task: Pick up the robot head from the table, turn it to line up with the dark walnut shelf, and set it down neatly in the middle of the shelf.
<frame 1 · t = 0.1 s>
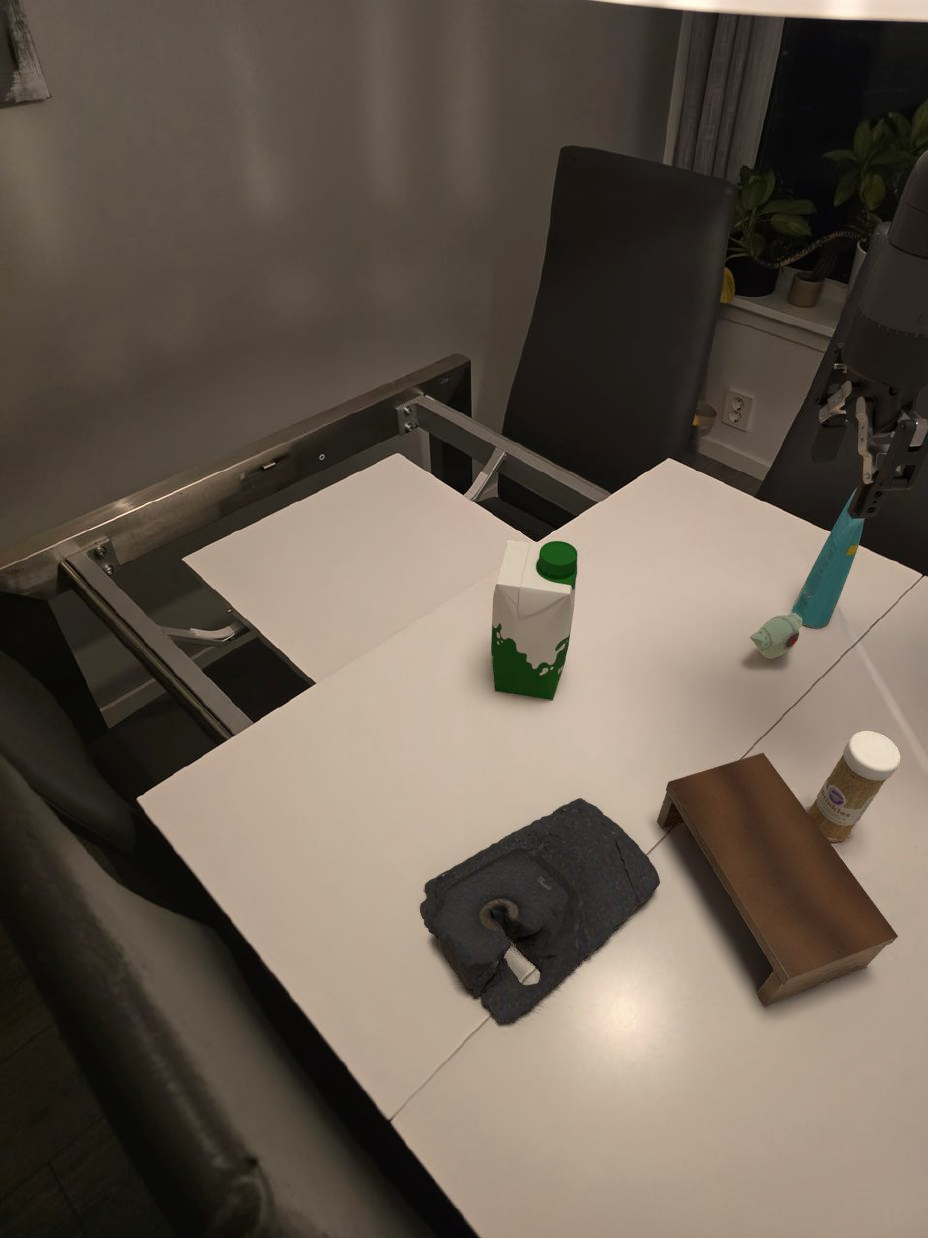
hand: (839, 486, 70), 32 cm above the table, tool pointing down, fingers open, 8 cm apart
milk carton: (527, 675, 97), on the table
tube: (810, 616, 104), on the table
dark slate chunk: (542, 902, 76), on the table
sprinkles bottle: (827, 825, 82), on the table
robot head: (769, 658, 99), on the table
shelf: (754, 888, 77), on the table
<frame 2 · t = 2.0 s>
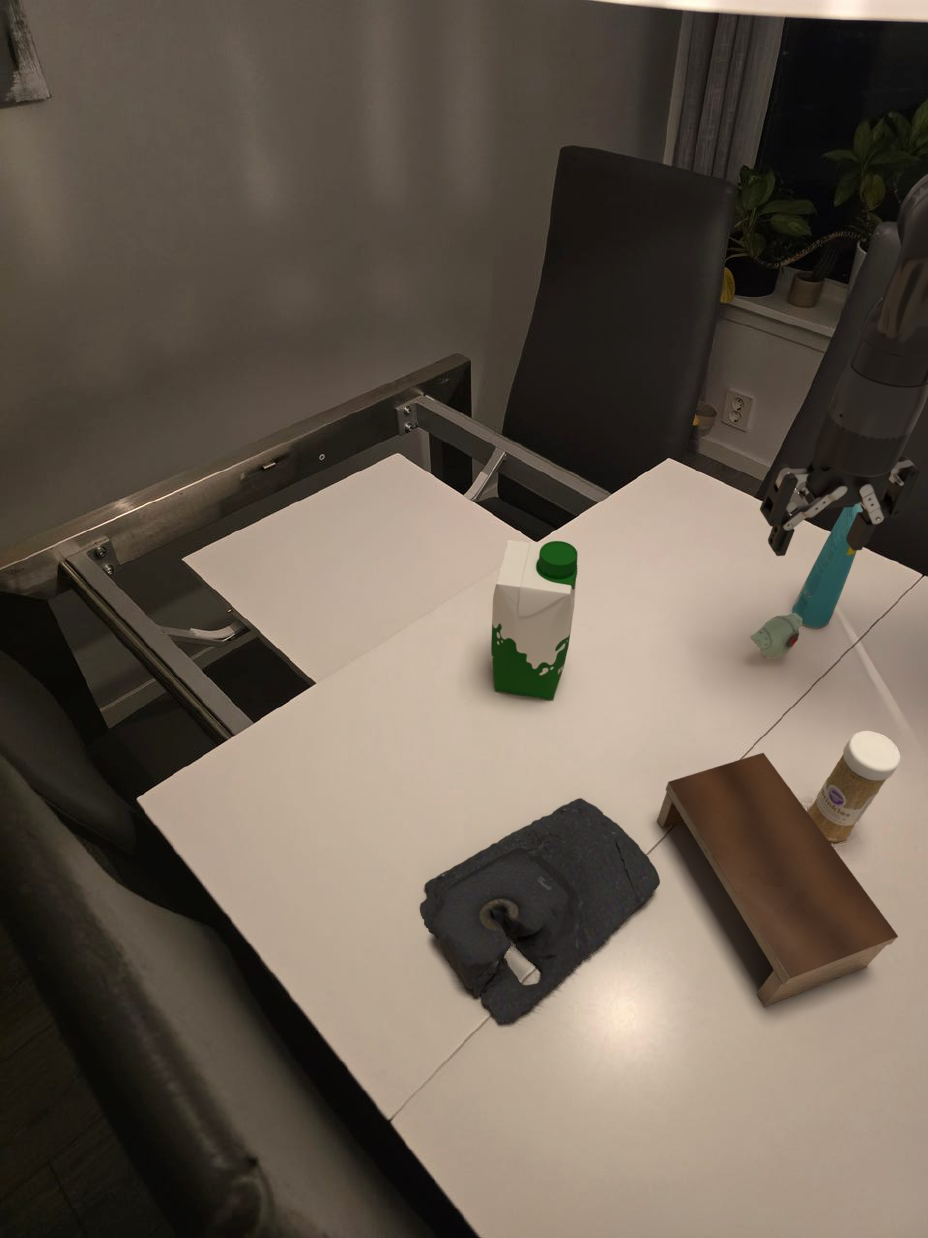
hand: (815, 548, 84), 19 cm above the table, tool pointing down, fingers open, 8 cm apart
nothing on the table moved.
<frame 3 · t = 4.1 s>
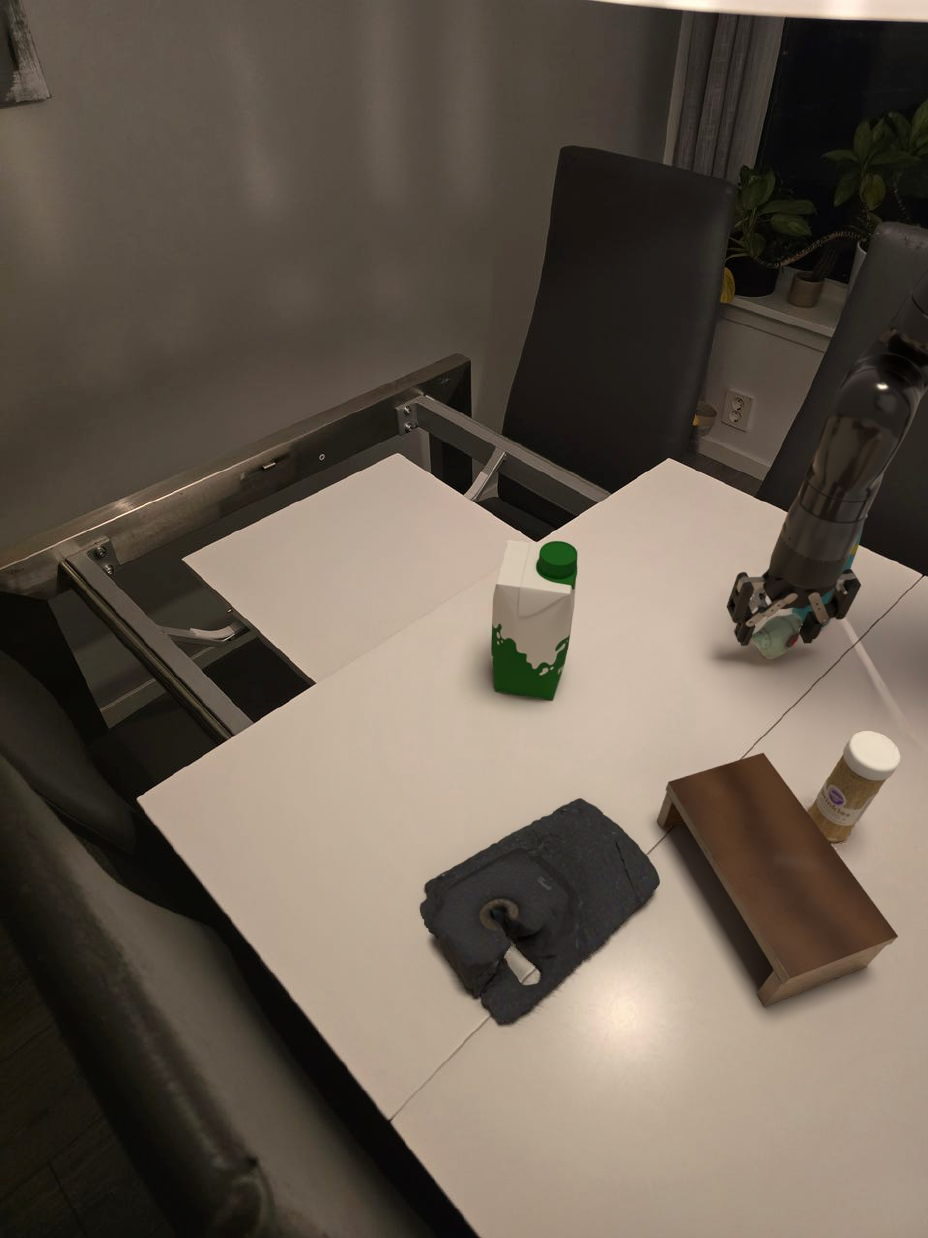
hand: (773, 639, 96), 3 cm above the table, tool pointing down, fingers closed on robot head, 7 cm apart
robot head: (769, 658, 99), on the table, touching gripper
everything else where it was.
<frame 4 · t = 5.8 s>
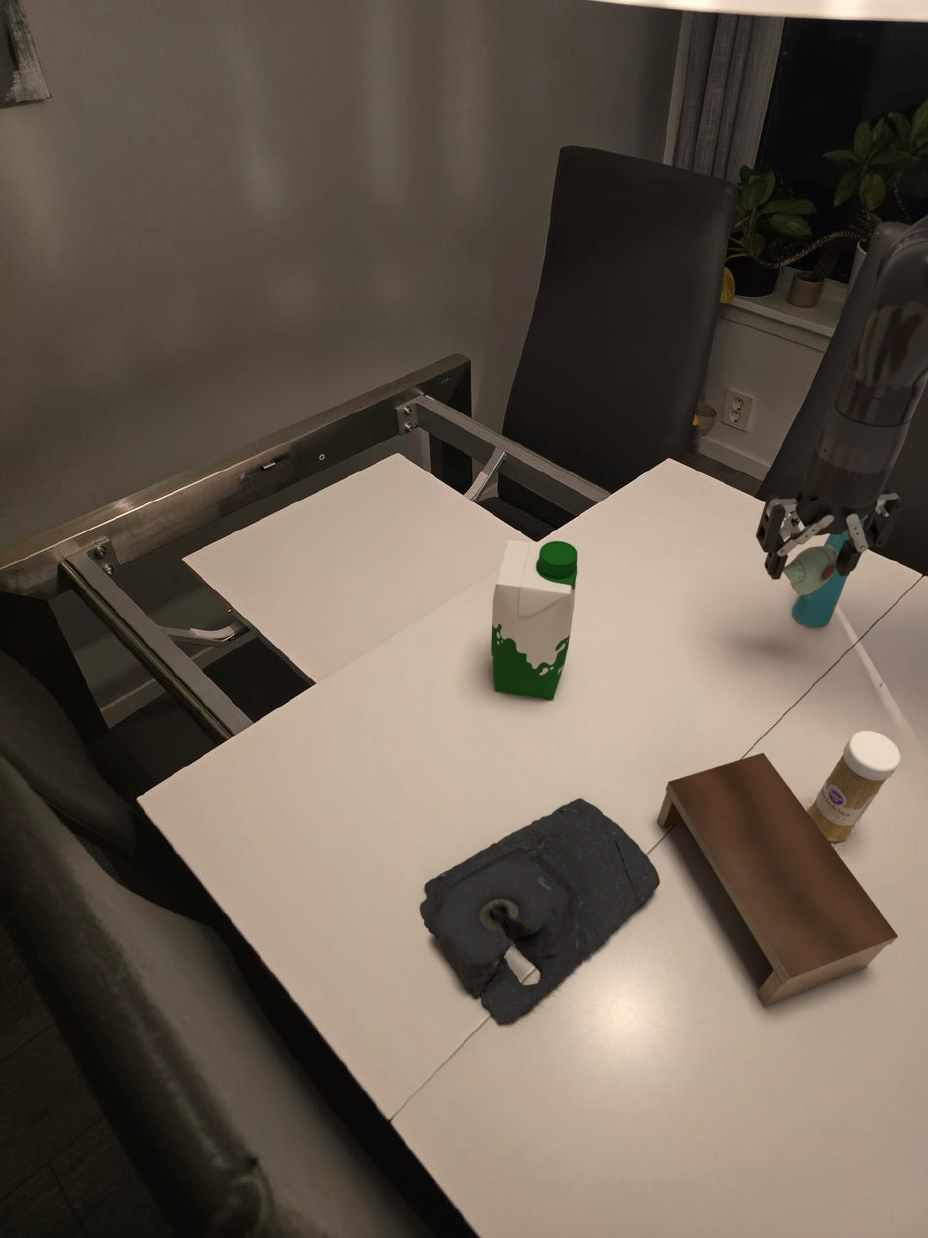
hand: (807, 573, 89), 14 cm above the table, tool pointing down, fingers closed on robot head, 7 cm apart
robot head: (802, 595, 91), point 11 cm above the table, touching gripper
everything else where it was.
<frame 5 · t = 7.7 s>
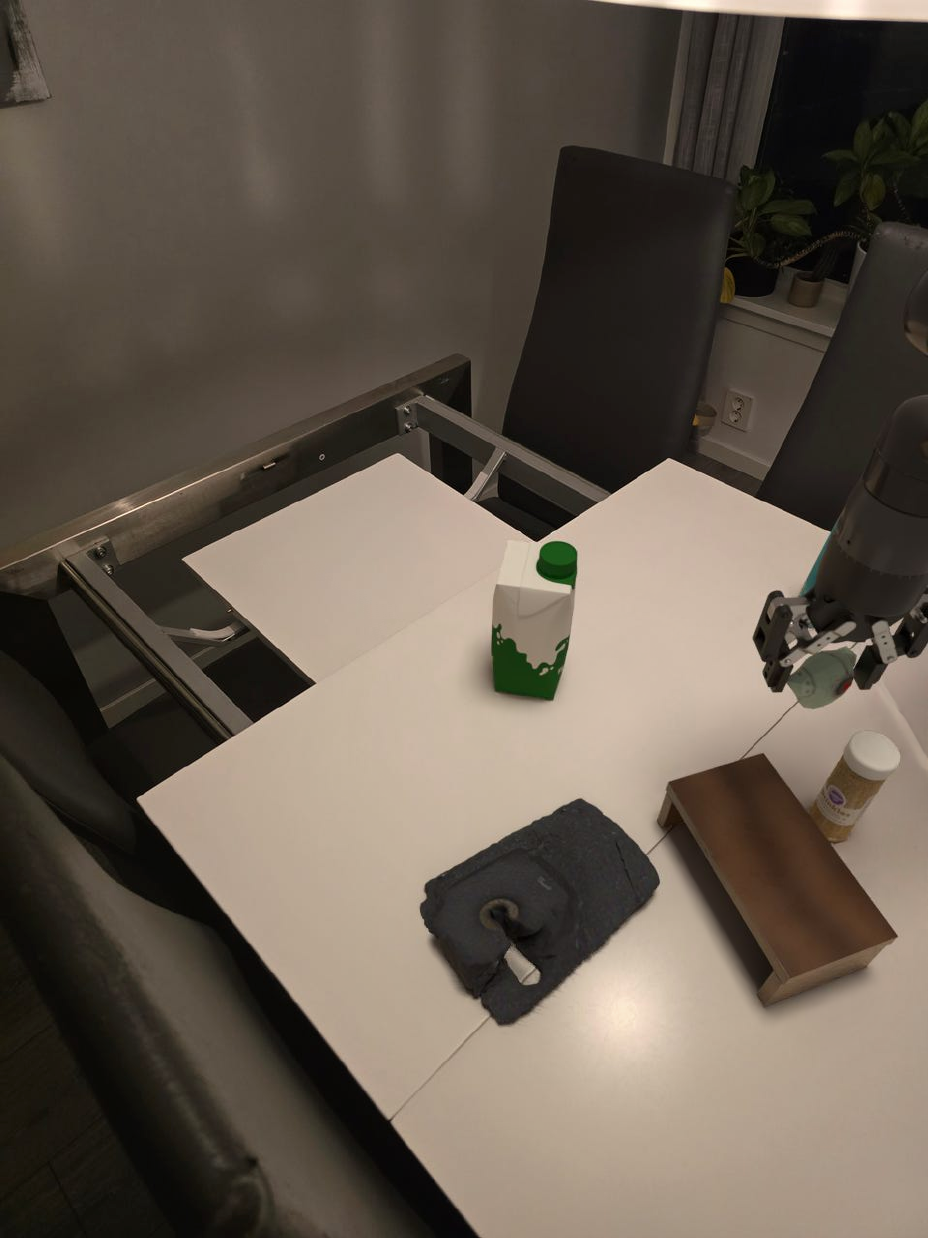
hand: (816, 683, 69), 20 cm above the table, tool pointing down, fingers closed on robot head, 7 cm apart
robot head: (809, 707, 72), point 17 cm above the table, touching gripper
everything else where it was.
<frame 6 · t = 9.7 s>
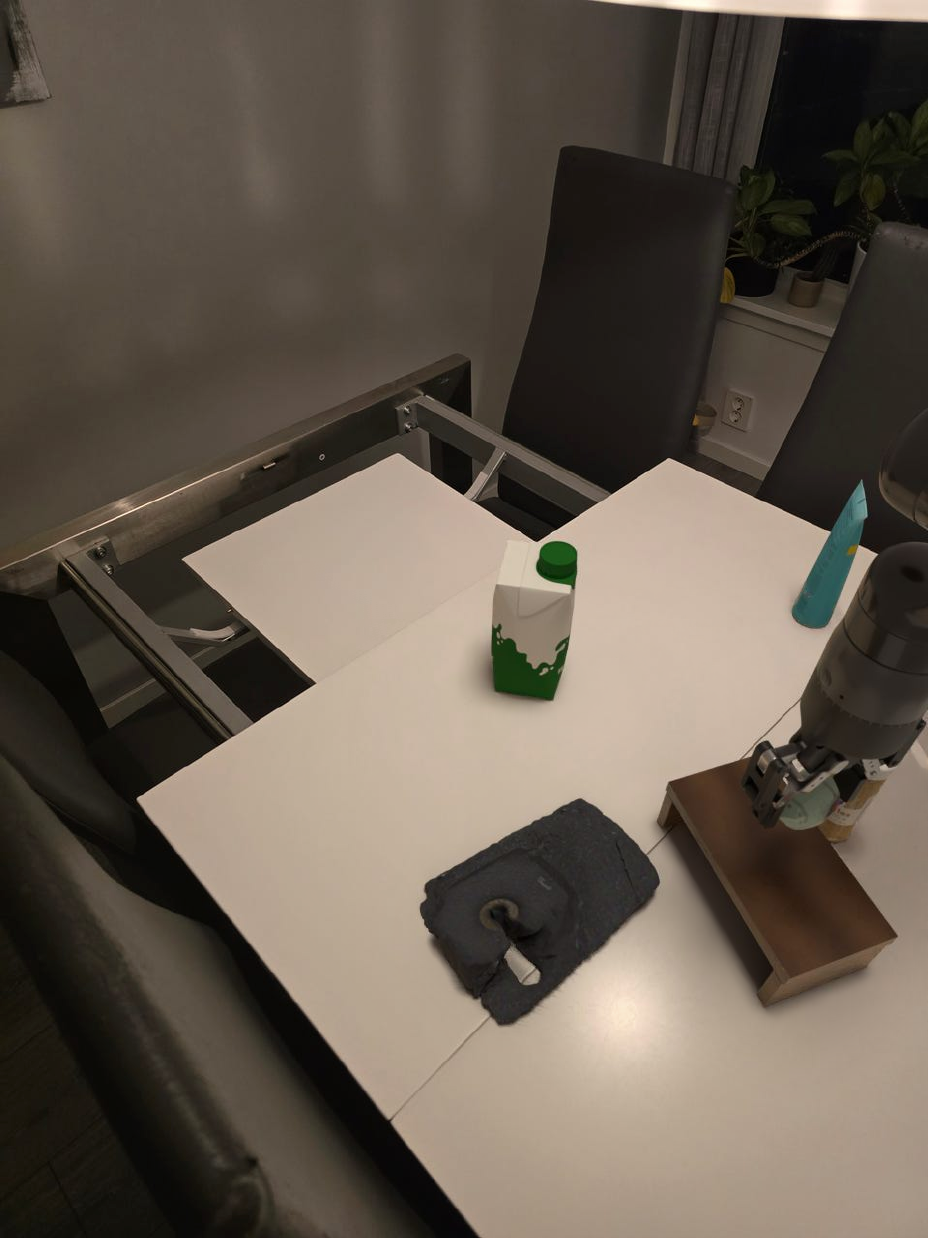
hand: (802, 805, 66), 15 cm above the table, tool pointing down, fingers closed on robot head, 7 cm apart
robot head: (794, 825, 69), point 12 cm above the table, touching gripper
everything else where it was.
when the fingers open (10 cm above the table, at t = 11.5 s): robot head stays where it is, resting on shelf.
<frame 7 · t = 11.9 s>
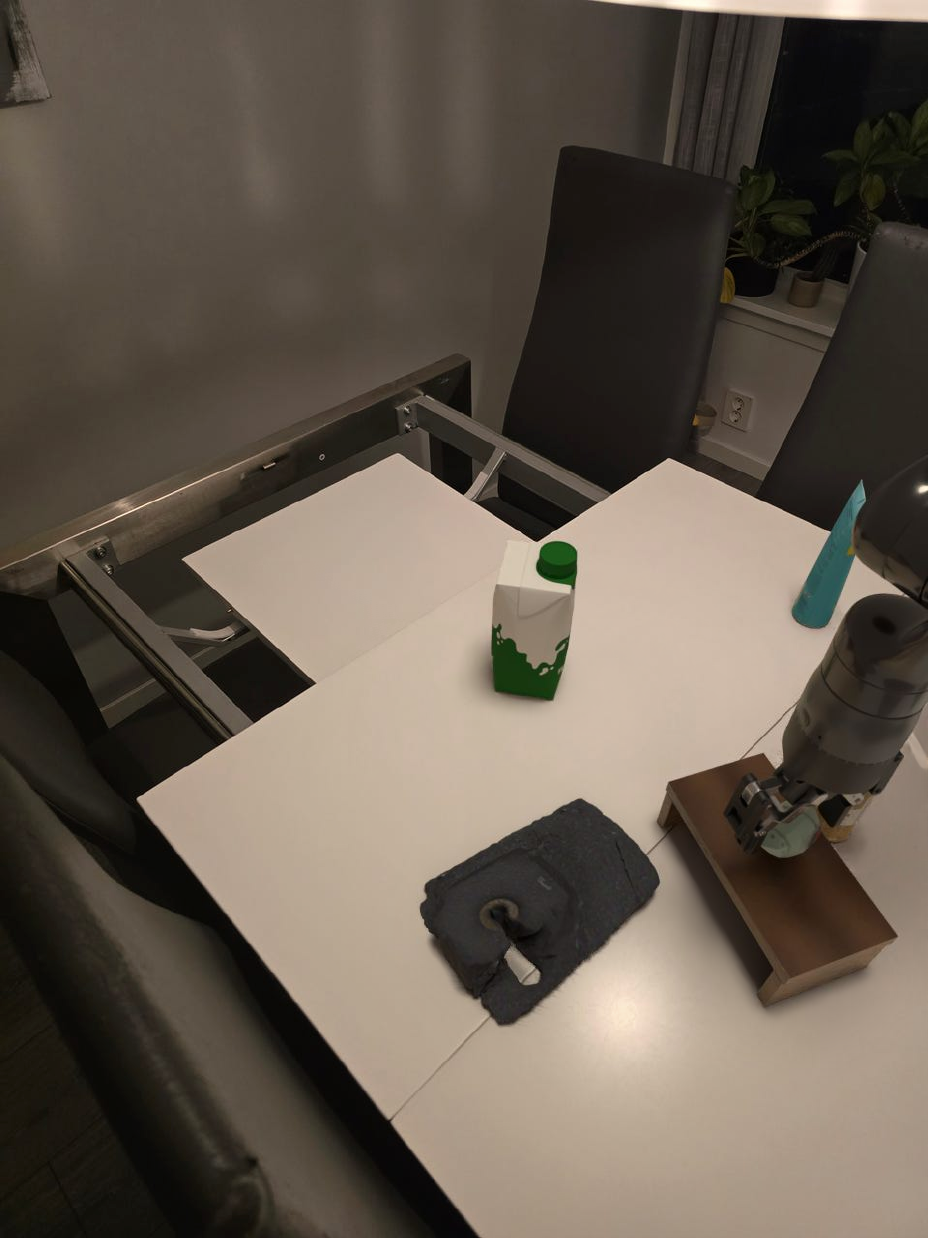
hand: (786, 831, 69), 11 cm above the table, tool pointing down, fingers open, 8 cm apart
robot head: (779, 852, 72), point 7 cm above the table, touching shelf
everything else where it was.
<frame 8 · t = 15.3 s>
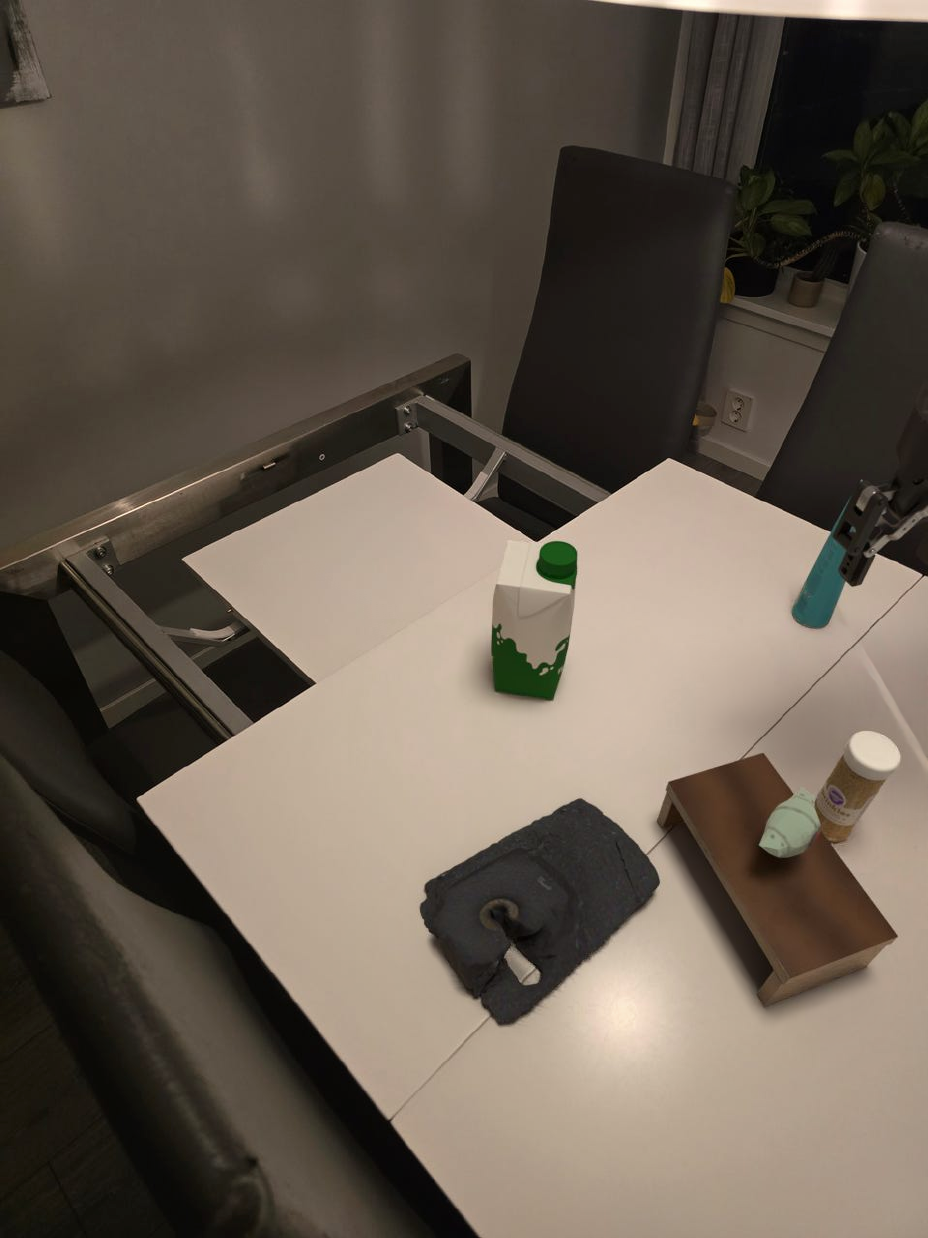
hand: (888, 570, 71), 26 cm above the table, tool pointing down, fingers open, 8 cm apart
nothing on the table moved.
at the end: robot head inside the target area on the shelf (0.5 cm from its centre), point 6.8 cm above the shelf's base; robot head tilted 0°; the gripper is holding nothing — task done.
